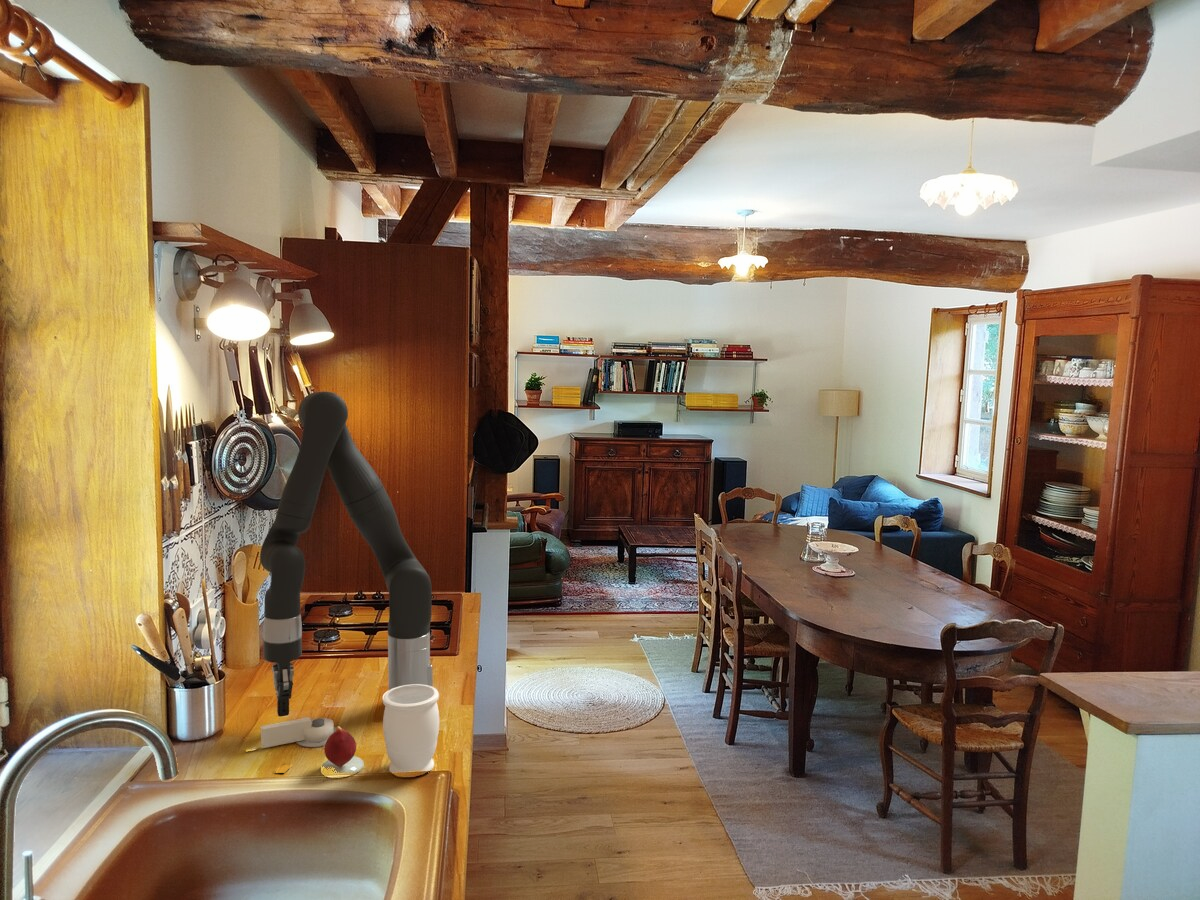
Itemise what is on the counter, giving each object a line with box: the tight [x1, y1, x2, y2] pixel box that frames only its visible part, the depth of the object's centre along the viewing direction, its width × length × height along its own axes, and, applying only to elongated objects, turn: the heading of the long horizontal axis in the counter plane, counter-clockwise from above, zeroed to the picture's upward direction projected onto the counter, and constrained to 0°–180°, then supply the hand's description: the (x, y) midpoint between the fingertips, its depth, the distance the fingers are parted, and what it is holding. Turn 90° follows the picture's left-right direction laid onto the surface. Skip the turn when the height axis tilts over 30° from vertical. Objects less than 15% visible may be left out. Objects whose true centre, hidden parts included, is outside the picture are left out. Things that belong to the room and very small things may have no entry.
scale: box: [244, 726, 337, 751], centre depth 161 cm, size 18×17×1 cm
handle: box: [260, 716, 335, 749], centre depth 165 cm, size 14×6×4 cm, turn 118°
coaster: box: [321, 755, 365, 773], centre depth 155 cm, size 8×8×1 cm
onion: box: [323, 725, 357, 767], centre depth 154 cm, size 6×6×8 cm
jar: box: [382, 684, 440, 773], centre depth 154 cm, size 11×10×15 cm
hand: (283, 714), depth 170 cm, fingers closed
